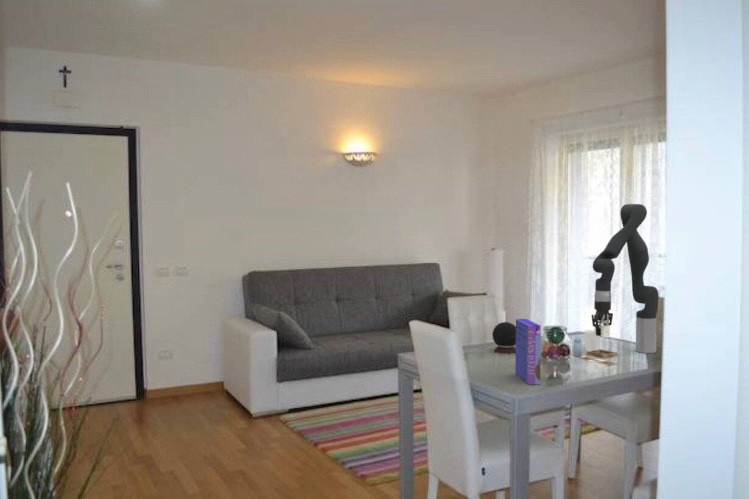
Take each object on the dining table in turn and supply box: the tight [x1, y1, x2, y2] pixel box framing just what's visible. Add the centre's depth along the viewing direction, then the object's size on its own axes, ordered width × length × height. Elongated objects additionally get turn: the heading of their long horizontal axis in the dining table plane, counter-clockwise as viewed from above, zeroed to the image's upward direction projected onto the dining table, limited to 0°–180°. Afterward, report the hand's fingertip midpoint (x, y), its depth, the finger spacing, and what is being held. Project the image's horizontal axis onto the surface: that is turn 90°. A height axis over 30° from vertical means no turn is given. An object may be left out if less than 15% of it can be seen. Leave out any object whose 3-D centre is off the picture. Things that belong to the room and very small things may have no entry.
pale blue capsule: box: [573, 336, 583, 357], centre depth 301 cm, size 4×4×9 cm
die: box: [594, 324, 611, 338], centre depth 302 cm, size 5×5×5 cm
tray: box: [586, 349, 618, 360], centre depth 303 cm, size 10×10×2 cm
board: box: [569, 354, 617, 367], centre depth 294 cm, size 7×22×1 cm, turn 34°
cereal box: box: [514, 318, 542, 386], centre depth 259 cm, size 17×5×24 cm, turn 5°
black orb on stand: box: [492, 321, 516, 355], centre depth 315 cm, size 13×13×15 cm
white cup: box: [583, 329, 601, 352], centre depth 316 cm, size 8×8×10 cm
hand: (601, 334), depth 302 cm, fingers closed on die, 5 cm apart
